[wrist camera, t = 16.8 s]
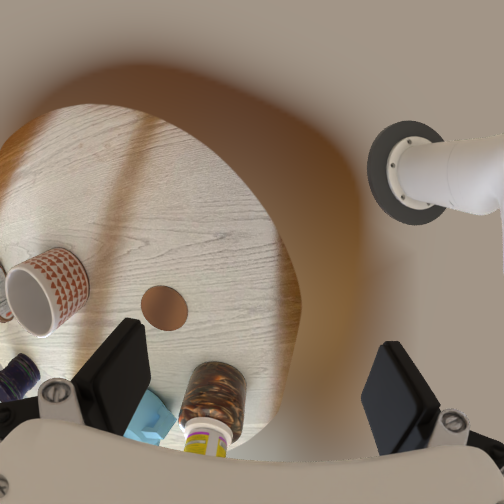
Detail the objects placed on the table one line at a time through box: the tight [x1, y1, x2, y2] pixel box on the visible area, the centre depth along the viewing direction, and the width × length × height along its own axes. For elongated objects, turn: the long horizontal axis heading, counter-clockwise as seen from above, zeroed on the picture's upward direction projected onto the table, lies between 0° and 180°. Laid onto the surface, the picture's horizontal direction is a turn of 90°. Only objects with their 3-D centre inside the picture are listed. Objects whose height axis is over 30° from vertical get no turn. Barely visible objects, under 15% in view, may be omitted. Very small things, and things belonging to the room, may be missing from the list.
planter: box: [5, 248, 89, 338], centre depth 43 cm, size 14×14×13 cm
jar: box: [178, 362, 246, 448], centre depth 47 cm, size 12×12×15 cm
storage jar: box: [0, 353, 40, 403], centre depth 51 cm, size 10×10×15 cm
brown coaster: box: [141, 286, 188, 331], centre depth 50 cm, size 9×9×1 cm
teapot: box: [123, 389, 177, 446], centre depth 51 cm, size 19×19×14 cm
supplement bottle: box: [184, 428, 227, 458], centre depth 33 cm, size 7×7×13 cm
